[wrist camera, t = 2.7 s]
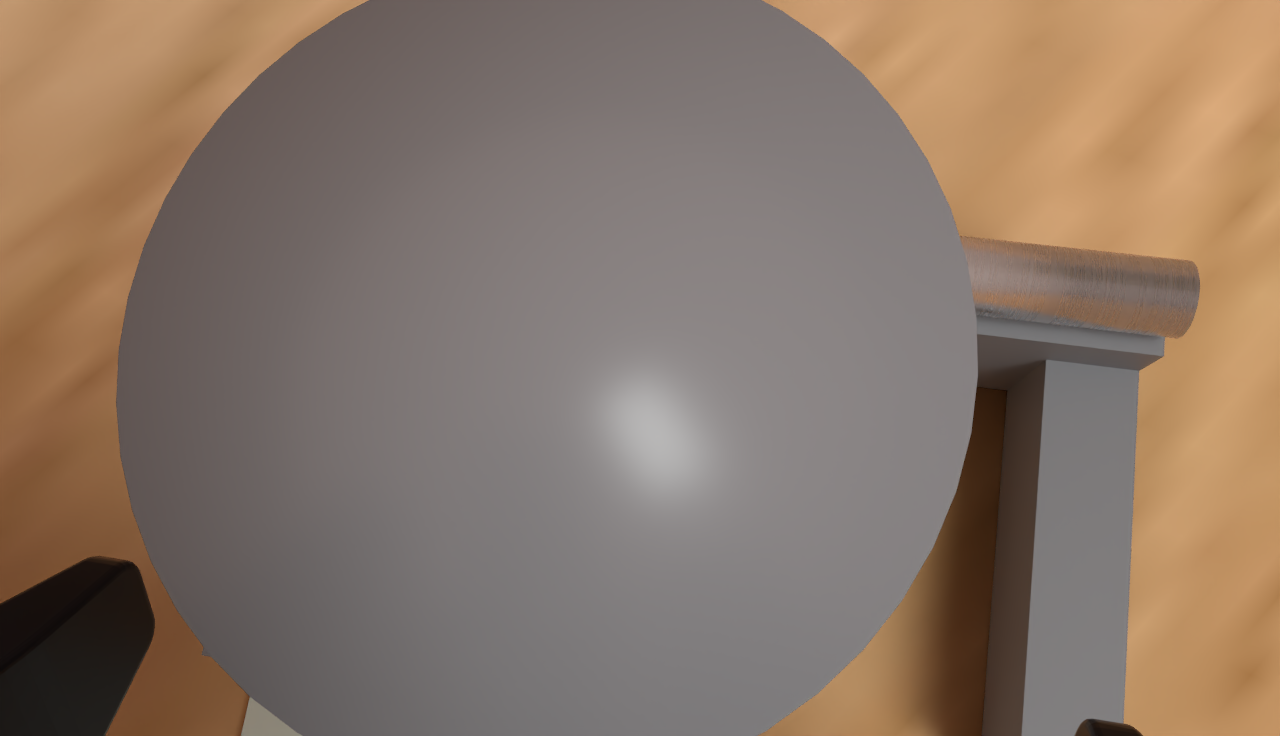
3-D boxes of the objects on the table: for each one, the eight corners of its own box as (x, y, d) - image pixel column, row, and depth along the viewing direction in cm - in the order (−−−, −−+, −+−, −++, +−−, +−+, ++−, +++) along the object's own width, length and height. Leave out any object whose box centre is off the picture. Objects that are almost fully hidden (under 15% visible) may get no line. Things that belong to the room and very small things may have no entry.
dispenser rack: (1066, 786, 18) (1181, 848, 13) (268, 648, 19) (125, 662, 15) (1091, 325, 19) (1201, 239, 15) (360, 240, 21) (259, 140, 17)
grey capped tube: (850, 595, 19) (1151, 563, 5) (605, 703, 19) (262, 961, 5) (738, 359, 20) (746, -167, 6) (509, 461, 20) (28, 147, 6)
